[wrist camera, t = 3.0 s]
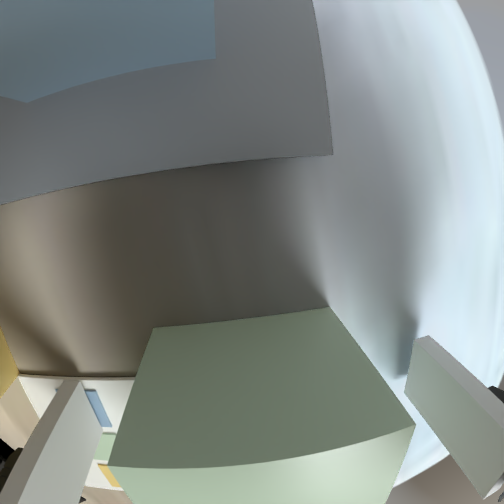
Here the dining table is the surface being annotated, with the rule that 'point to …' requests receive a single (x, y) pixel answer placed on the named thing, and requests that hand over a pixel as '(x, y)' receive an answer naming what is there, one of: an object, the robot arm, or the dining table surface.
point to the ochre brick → (6, 366)
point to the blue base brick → (96, 40)
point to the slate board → (179, 108)
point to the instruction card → (104, 406)
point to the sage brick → (259, 416)
